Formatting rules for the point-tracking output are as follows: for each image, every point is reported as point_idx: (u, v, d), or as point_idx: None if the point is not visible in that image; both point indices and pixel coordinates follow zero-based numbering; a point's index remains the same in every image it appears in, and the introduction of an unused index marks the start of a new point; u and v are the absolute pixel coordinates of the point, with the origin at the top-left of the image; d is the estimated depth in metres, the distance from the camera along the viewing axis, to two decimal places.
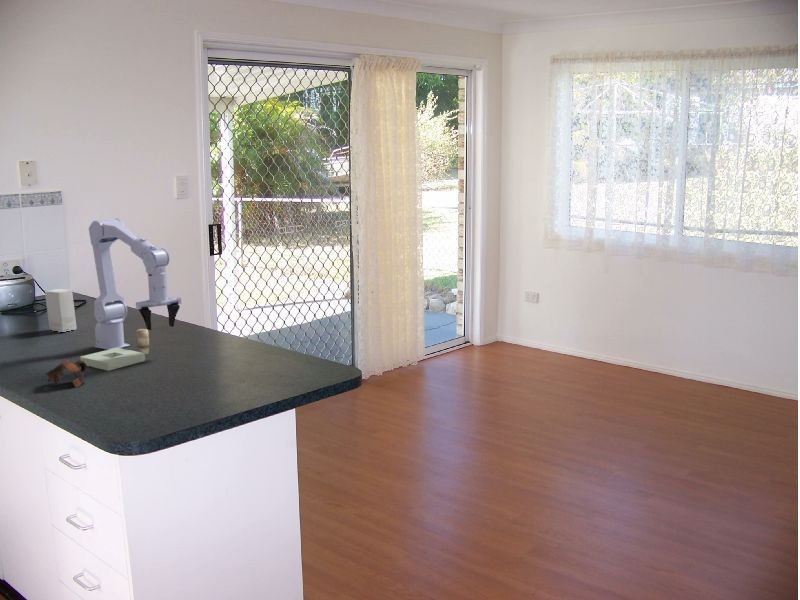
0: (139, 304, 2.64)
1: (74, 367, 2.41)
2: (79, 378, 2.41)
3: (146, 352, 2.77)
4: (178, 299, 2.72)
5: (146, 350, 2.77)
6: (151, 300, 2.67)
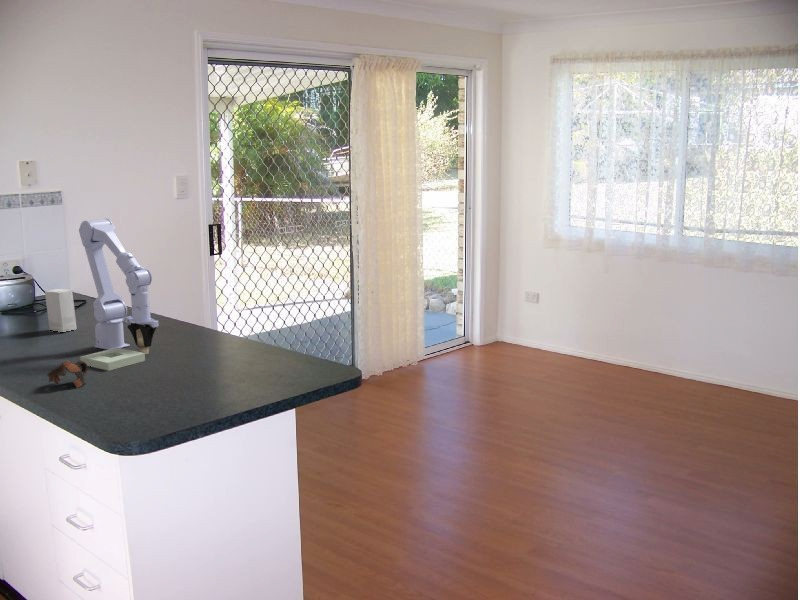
0: (125, 318, 2.79)
1: (75, 367, 2.41)
2: (80, 378, 2.41)
3: (146, 352, 2.77)
4: (151, 322, 2.71)
5: (146, 350, 2.77)
6: None
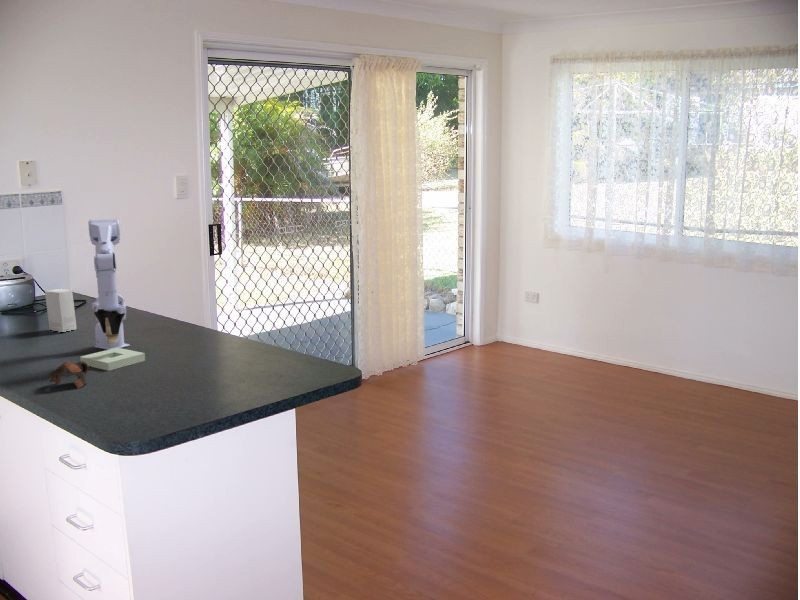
0: (92, 304, 2.66)
1: (76, 368, 2.40)
2: (81, 379, 2.40)
3: (115, 341, 2.65)
4: (118, 308, 2.59)
5: (115, 339, 2.65)
6: None
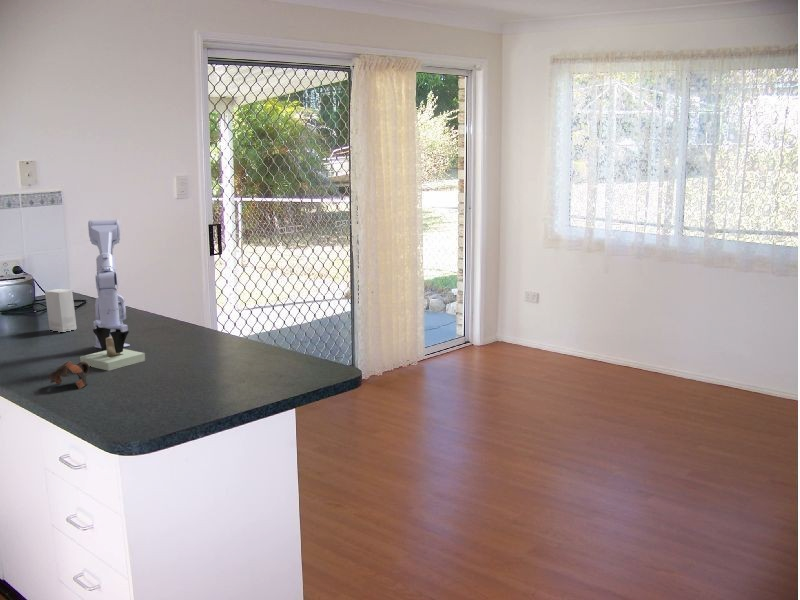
0: (94, 322, 2.67)
1: (77, 368, 2.40)
2: (82, 379, 2.40)
3: None
4: (120, 327, 2.60)
5: None
6: None
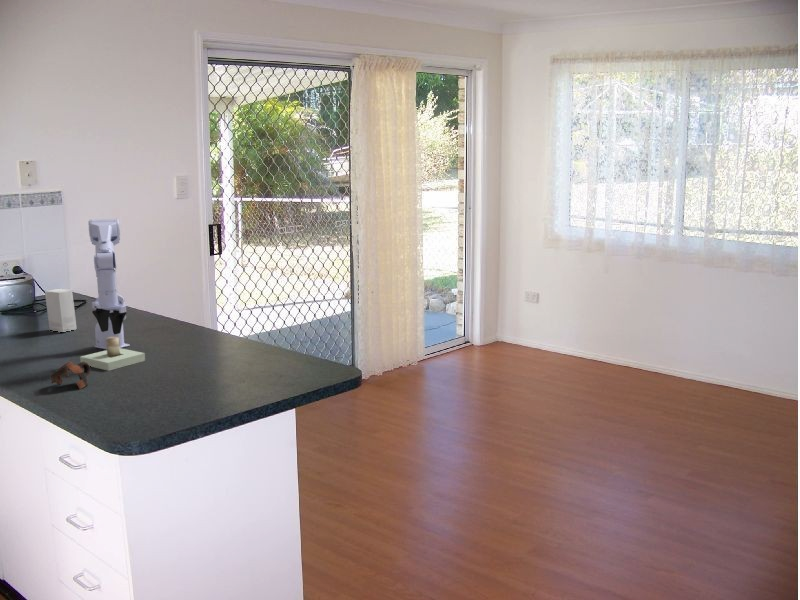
0: (92, 303, 2.66)
1: (78, 368, 2.40)
2: (83, 379, 2.40)
3: None
4: (118, 308, 2.59)
5: None
6: None
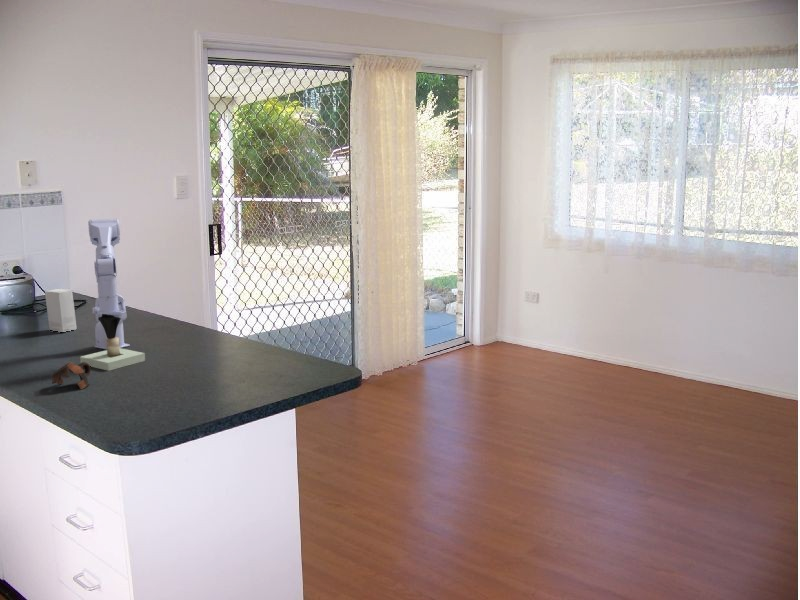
0: (93, 309, 2.66)
1: (79, 369, 2.39)
2: (84, 380, 2.39)
3: None
4: (119, 313, 2.59)
5: None
6: None
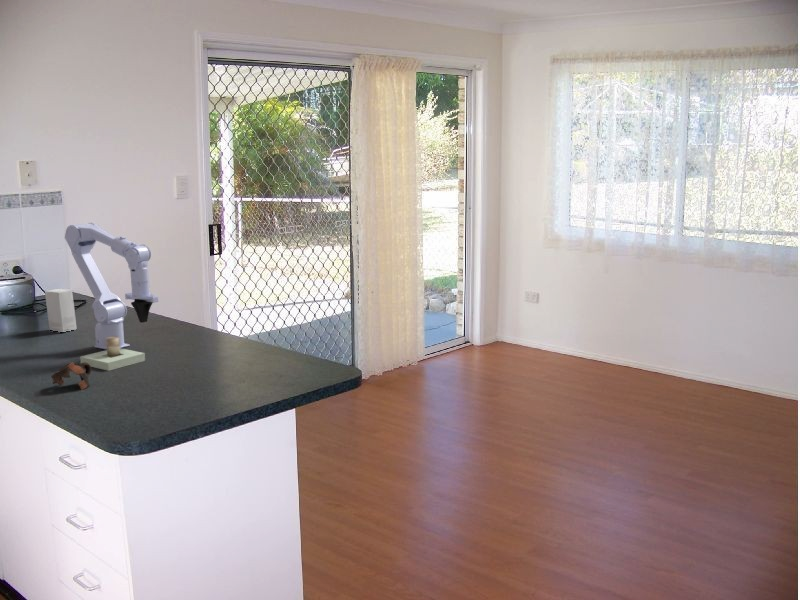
0: (125, 294, 2.80)
1: (79, 369, 2.39)
2: (85, 380, 2.39)
3: None
4: (151, 298, 2.72)
5: None
6: None
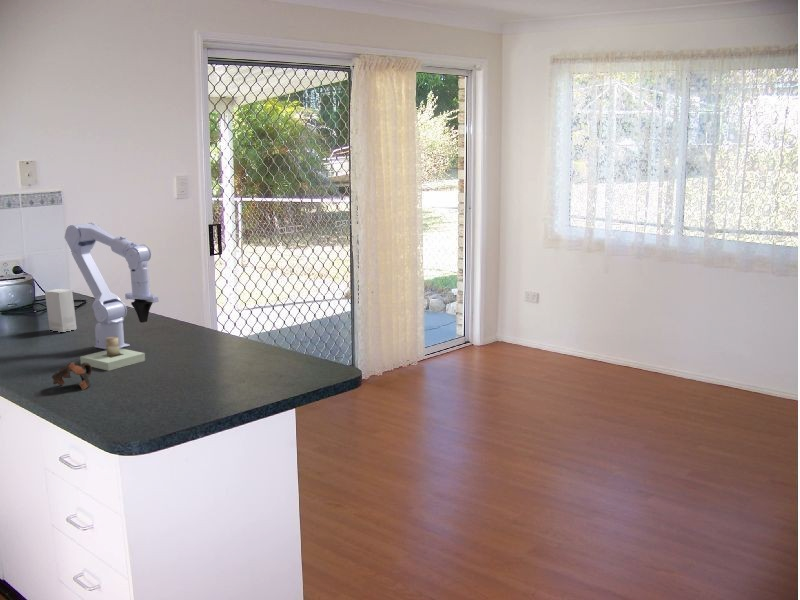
0: (125, 294, 2.80)
1: (80, 369, 2.39)
2: (85, 380, 2.39)
3: None
4: (151, 298, 2.73)
5: None
6: None
